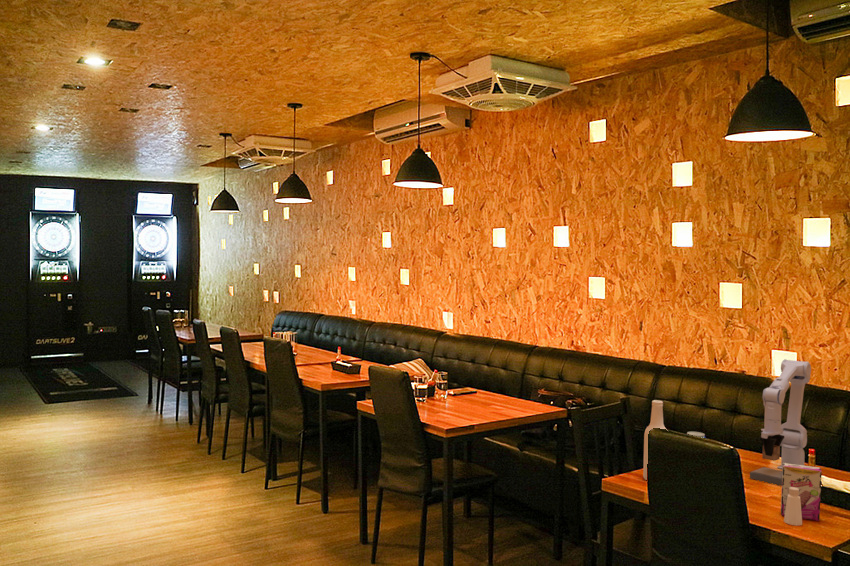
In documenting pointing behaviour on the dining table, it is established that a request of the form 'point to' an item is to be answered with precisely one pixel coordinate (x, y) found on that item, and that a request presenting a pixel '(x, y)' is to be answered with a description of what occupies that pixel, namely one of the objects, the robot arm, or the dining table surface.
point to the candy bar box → (802, 488)
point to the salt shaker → (793, 508)
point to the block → (774, 456)
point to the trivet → (767, 475)
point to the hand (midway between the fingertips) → (771, 454)
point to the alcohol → (654, 423)
